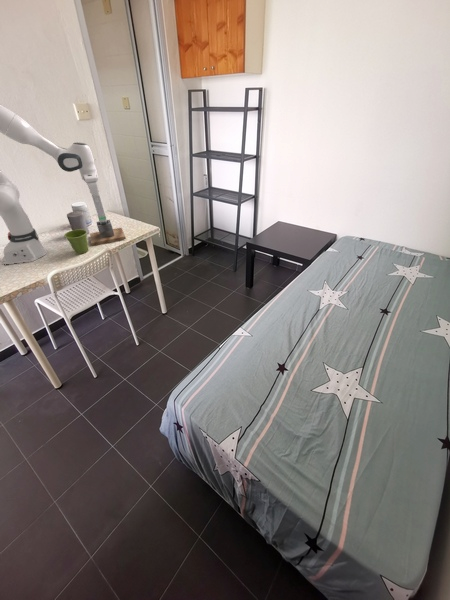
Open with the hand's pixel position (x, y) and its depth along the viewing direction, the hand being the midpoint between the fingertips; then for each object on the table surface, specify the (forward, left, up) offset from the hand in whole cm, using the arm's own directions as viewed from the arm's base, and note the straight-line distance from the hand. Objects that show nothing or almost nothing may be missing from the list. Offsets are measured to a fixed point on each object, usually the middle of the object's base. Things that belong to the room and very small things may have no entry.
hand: (96, 200), depth 166 cm
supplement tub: (-12, +32, -24) cm, 42 cm away
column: (0, 0, -15) cm, 15 cm away
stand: (0, 0, -24) cm, 24 cm away
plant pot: (-16, -13, -24) cm, 32 cm away
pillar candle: (-15, +15, -24) cm, 32 cm away
